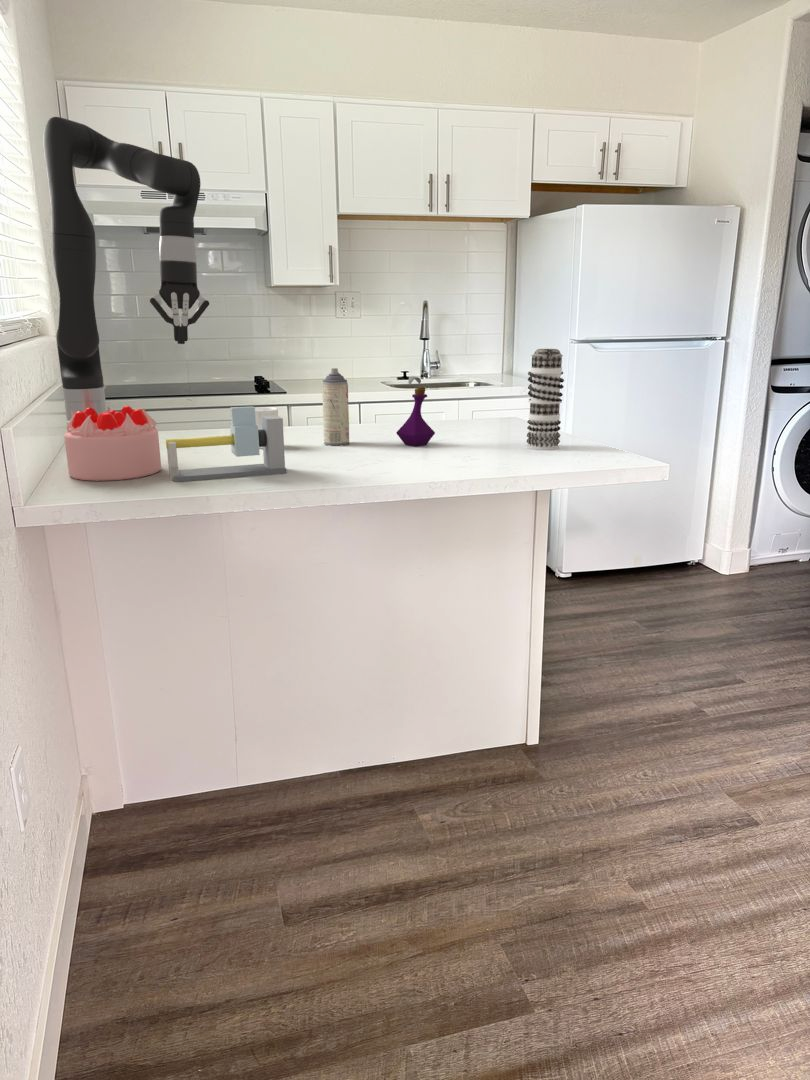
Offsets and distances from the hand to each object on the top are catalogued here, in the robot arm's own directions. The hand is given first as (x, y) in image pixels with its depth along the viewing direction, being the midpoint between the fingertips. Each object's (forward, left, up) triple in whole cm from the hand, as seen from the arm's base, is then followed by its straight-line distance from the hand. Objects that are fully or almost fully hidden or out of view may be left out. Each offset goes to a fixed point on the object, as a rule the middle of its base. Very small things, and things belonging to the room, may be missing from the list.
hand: (181, 343), depth 173 cm
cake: (-16, +3, -28) cm, 33 cm away
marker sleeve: (+11, -9, -24) cm, 28 cm away
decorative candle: (+89, -6, -28) cm, 93 cm away
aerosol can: (+41, +21, -28) cm, 54 cm away
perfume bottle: (+60, +11, -28) cm, 67 cm away
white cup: (+22, +24, -28) cm, 43 cm away
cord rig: (+7, -9, -28) cm, 30 cm away
